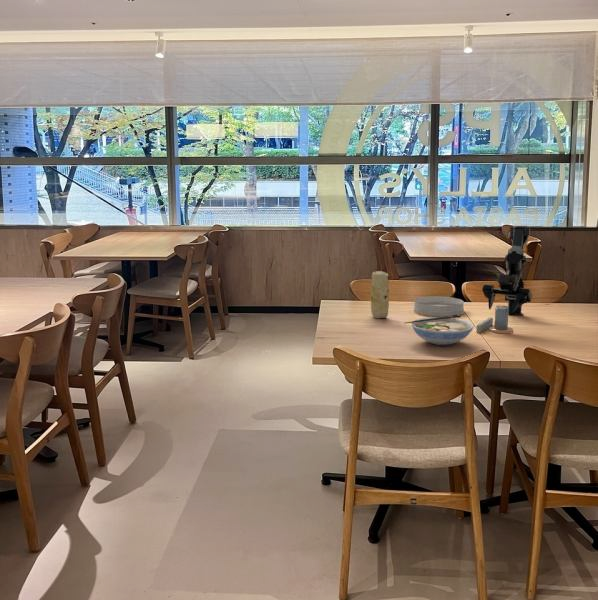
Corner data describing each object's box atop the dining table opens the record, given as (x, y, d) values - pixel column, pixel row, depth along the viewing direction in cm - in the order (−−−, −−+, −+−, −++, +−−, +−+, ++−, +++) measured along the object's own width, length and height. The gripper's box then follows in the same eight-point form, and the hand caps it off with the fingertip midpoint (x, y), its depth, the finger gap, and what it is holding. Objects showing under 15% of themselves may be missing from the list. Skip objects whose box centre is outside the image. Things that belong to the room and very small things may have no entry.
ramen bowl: (430, 354, 236) (431, 332, 234) (396, 339, 256) (396, 318, 255) (488, 346, 246) (489, 324, 244) (450, 332, 266) (451, 312, 265)
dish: (446, 305, 320) (446, 294, 319) (473, 314, 299) (474, 303, 299) (404, 309, 312) (405, 298, 311) (430, 318, 292) (430, 307, 291)
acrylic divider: (489, 324, 279) (490, 317, 279) (492, 324, 279) (492, 317, 278) (476, 332, 266) (476, 325, 266) (479, 332, 266) (479, 325, 265)
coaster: (486, 328, 274) (486, 326, 273) (509, 328, 273) (509, 326, 273) (492, 333, 265) (492, 331, 265) (515, 333, 265) (515, 331, 264)
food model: (392, 317, 293) (393, 272, 289) (381, 320, 289) (382, 273, 285) (376, 314, 300) (377, 269, 296) (365, 316, 296) (366, 271, 293)
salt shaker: (493, 327, 271) (494, 305, 270) (505, 327, 271) (506, 305, 270) (496, 330, 267) (497, 307, 265) (509, 330, 266) (510, 307, 265)
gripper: (484, 264, 273) (473, 295, 266) (531, 268, 262) (520, 301, 255) (491, 281, 280) (479, 311, 274) (536, 285, 270) (525, 317, 263)
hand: (500, 310), depth 266 cm, fingers open, 9 cm apart
